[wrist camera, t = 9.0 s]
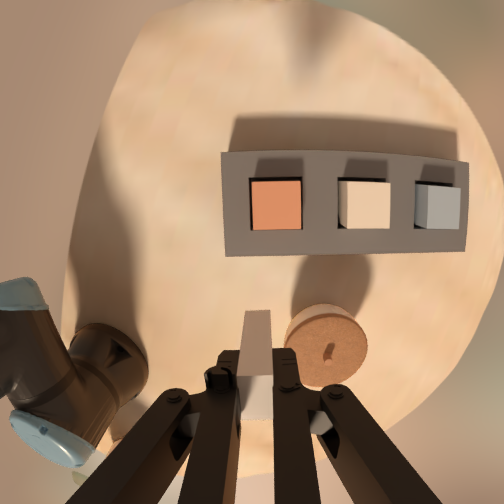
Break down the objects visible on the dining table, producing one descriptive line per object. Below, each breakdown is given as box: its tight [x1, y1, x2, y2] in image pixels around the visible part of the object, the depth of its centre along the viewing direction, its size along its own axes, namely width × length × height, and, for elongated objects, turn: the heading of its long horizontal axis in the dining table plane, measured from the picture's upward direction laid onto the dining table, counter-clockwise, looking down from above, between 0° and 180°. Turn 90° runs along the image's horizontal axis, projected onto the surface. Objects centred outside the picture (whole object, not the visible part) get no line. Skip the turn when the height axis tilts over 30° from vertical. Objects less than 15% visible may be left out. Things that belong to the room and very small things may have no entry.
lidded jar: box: [284, 304, 368, 387], centre depth 38 cm, size 11×11×9 cm
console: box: [221, 150, 469, 257], centre depth 35 cm, size 32×12×5 cm, turn 92°
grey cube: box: [414, 184, 461, 229], centre depth 32 cm, size 5×5×5 cm
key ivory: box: [338, 181, 390, 229], centre depth 33 cm, size 5×5×5 cm
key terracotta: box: [252, 181, 301, 230], centre depth 33 cm, size 5×5×5 cm
